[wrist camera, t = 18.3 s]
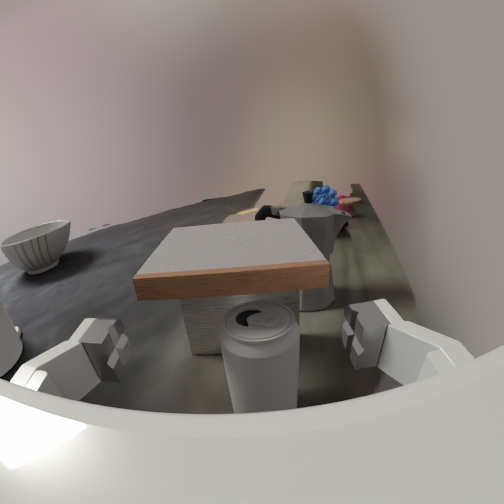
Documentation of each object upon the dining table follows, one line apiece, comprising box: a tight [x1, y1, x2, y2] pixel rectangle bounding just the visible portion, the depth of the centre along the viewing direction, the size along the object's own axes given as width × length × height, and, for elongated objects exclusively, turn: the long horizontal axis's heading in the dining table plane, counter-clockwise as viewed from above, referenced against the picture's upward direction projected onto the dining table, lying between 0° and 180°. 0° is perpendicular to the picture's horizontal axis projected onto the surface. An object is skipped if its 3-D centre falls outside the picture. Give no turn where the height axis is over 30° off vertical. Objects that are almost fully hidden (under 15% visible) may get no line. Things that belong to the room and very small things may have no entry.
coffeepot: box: [255, 191, 352, 312], centre depth 44 cm, size 15×9×18 cm, turn 66°
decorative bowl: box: [0, 219, 70, 274], centre depth 68 cm, size 27×27×12 cm
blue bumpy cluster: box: [312, 185, 339, 209], centre depth 97 cm, size 12×7×12 cm, turn 57°
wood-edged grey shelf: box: [132, 218, 330, 355], centre depth 28 cm, size 14×14×16 cm
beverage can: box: [219, 300, 300, 414], centre depth 23 cm, size 6×6×12 cm
